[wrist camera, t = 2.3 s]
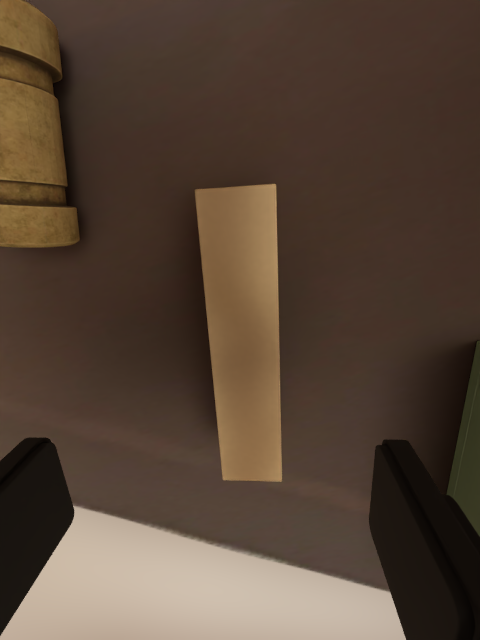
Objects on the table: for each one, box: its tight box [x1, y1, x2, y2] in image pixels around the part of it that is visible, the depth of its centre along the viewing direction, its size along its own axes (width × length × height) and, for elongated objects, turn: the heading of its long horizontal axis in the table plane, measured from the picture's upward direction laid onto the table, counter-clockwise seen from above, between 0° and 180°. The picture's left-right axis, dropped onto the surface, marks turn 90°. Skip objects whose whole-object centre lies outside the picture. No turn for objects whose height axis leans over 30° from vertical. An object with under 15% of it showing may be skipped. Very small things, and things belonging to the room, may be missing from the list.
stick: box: [195, 184, 282, 482], centre depth 18 cm, size 4×16×4 cm, turn 3°
